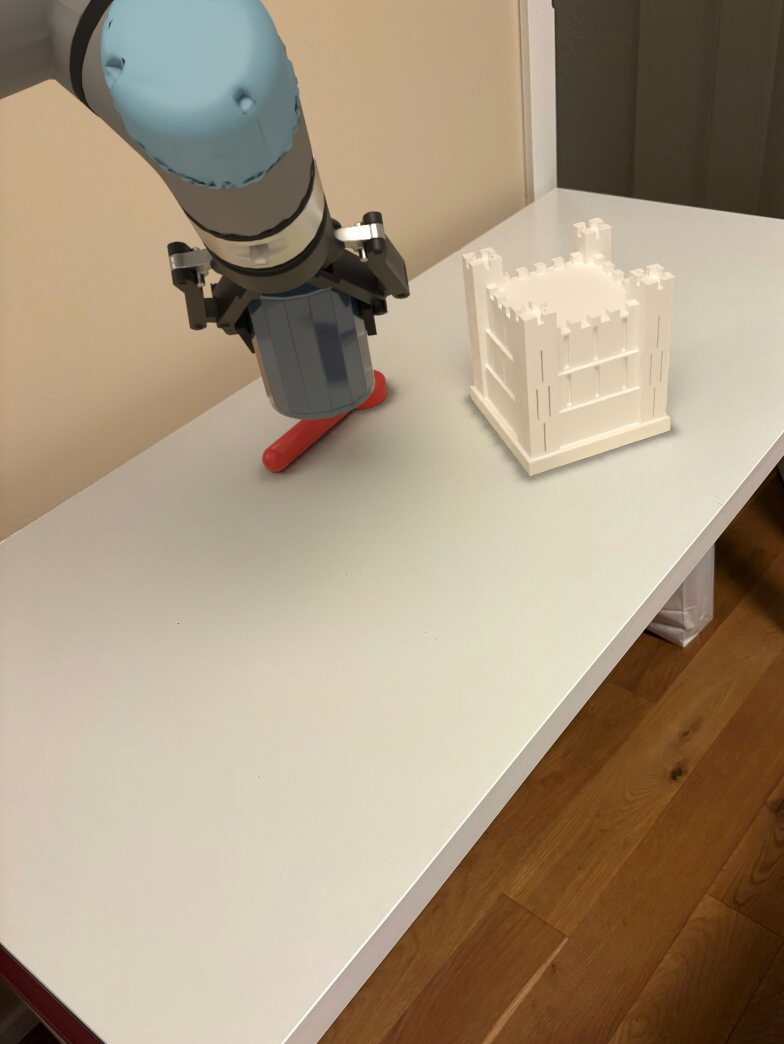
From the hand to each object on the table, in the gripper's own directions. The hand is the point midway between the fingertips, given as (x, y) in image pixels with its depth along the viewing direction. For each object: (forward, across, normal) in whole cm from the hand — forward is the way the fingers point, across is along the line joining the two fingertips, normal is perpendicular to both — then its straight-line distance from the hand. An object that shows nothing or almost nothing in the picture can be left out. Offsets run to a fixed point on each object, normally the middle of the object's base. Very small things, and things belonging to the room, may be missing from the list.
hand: (312, 327), depth 76 cm
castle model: (+15, +22, -7) cm, 27 cm away
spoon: (+18, -2, -4) cm, 18 cm away
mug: (+2, 0, -3) cm, 4 cm away
